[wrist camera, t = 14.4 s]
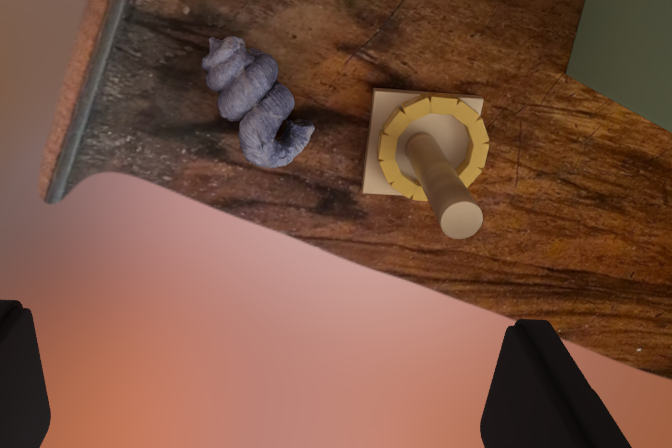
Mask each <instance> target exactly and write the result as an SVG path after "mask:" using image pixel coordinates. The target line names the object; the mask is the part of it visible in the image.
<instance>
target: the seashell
mask: <svg viewBox="0 0 672 448" xmlns="http://www.w3.org/2000/svg"><path fill="white" fill-rule="evenodd" d="M209 43H210V53H209V54H208V55H207V56H205V57H204V58H203V60H202V64H201V66H202V68H203V69H205V70H207V71H208V73H207V76H206V83H207V86H208V87H209V88H210V89H211V90H212V91H213V92H218V93H220V95H219V97H218V101H217V104H218V108H219V111H220V113H221V116H222V117H224V118H227V119H228V120H229V121H241V122H240V126H239V129H240V130H239V134H238V137H239V139H240V148H242V152H243V154H244V156H245V159H246V160H247V161H248V162H249V161H250V162H251V163H253V164H256V166H260V167H268V168H270V167H271V168H272V169H273V168H276V167H280V166H281V167H282V166H285V165H287V164H288V163H290V162H292V160H293V158H294V157H295V156H297V155H298V154H299V153H300V152H301V151H302V150H303V149H304V147H305V146H306V145H307V143H308V142H309V140H310V137H311V134H312V133H313V131H314V130H315V128H314V126H313V124H312V122H311V121H307V120H303V119H297V120H296V121H292V120H289V121H287V126H288V127H287V128H286V130H285V132H284V133H283V135H282V137H281V138H279V139H274V138H275V136H276V132H277V131H278V129H279V127H280V125H281V124H282V121H283V120H286V118H287V117H288V115H289V114H290V112H291V111H292V110H293V108H294V105H295V101H294V98H293V96H292V93H291V92H290V91H289V89H288V88H286V87H285V86H283V85H282V84H281V83H280V82H277V81H276V79H277V76H278V70H279V69H278V65H277V62H276V61H275V60H274V58H273V57H272V56H271V55H269V54H267V53H264V52H262V51H261V50H258V49H255V48H252V47H250V48H248V49H246V48H245V43H244V41H243V39H242V38H239V37H235V36H228V37H226V38H225V39H223V40H219V39H215V38H214V37H211V38H209Z"/></svg>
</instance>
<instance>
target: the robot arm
mask: <svg viewBox="0 0 672 448" xmlns="http://www.w3.org/2000/svg"><path fill="white" fill-rule="evenodd" d="M50 414H51V413H50V406H49V401H48V396H47V391H46V385H45V381H44V375H43V370H42V364H41V360H40V354H39V348H38V343H37V338H36V333H35V328H34V322H33V317H32V313H31V311H30V309H27V308H23V307H22V304H21V303H20V302H19V301H17V300H0V448H39V447H40V445H41V443H42V441H43V439H44V437H45V435H46V433H47V431H48V428H49V425H50V418H51V415H50ZM480 432H481V438H482V441H483V444H484V446H485V448H632V447H631V446H630V444H629V443H628V441H627V440H626V438H625V436H624V435H623V433H622V432H621V430H620V429H619V427H618V425H617V424H616V422H615V421H614V419H613V418H612V416H611V415H610V413H609V411H608V410H607V408H606V407H605V405H604V404H603V402H602V400H601V399H600V397H599V396H598V395H597V393H596V392H595V391H594V390H593V389H592V388H591V386H590V385H589V384H588V382H587V380H586V379H585V377H584V375H583V374H582V372H581V371H580V369H579V368H578V366H577V364H576V363H575V361H574V360H573V358H572V357H571V356H570V353H569V352H568V350H567V349H566V347H565V346H564V344H563V342H562V341H561V339H560V338H559V336H558V335H557V333H556V331H555V330H554V328H553V327H552V325H551V324H550V323H549V322H548V321H546V320H531V319H519V320H517V321H516V323H515V325H514V326H509V327H508V328H507V330H506V332H505V336H504V339H503V343H502V347H501V351H500V354H499V357H498V361H497V365H496V368H495V372H494V375H493V379H492V383H491V386H490V390H489V393H488V397H487V400H486V404H485V408H484V411H483V415H482V419H481V423H480Z"/></svg>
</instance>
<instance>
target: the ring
mask: <svg viewBox="0 0 672 448" xmlns="http://www.w3.org/2000/svg"><path fill="white" fill-rule="evenodd" d="M401 107H402V109H401V108H400V107H397V108H396V109H395V110H394V111H393V113H392V114H391V115H390V117H389V118H388V119H387V120H386V122H385V123H384V124H383V125H382V128H383V130H380V133H379V140H378V147H377V156H378V157H377V159H378V162H379V164H380V167H381V169H382V171H383V173H384V176H385V178H386V180H387V183H389V184H390V186H391V187H392V188H394V189H395V190H397V191H398V192H400V193H401V194H403V195H404V196H406V197H407V198H408V199H410V197H411V198H412V200H421V201H428V199H427V197H426V195H425V193H424V191H423V189H422V186H421V184H420V182H419V181H418V180H414V179H412V178H411V177H409V176H408V175H407V174H405V173H404V172H402V171H401V170H400V169H399V167H398V165H397V162H396V160H395V154H396V147H397V141H398V138H399V136H400V135H401V134H402V133H403V131H404V130H405V129H406V128H407V126H408V125H409V124H410V123H411V122H412V121H414V120H417V119H419V118H421V117H424V116H426V115H428V114H430V113H432V114H443V115H452V116H453V117H455V118H456V119H457V120H459V121H460V122H461V123H462V124H464V126H465V129H466V132H467V135H468V138H469V144H468V148H467V153H466V157H465V159H464V161H463V162H462V163H461V164H460V165H459V166H458V168H457V169H456V170H455V171H456V172H457V174H458V176H459V177H460V179H461V180H462V182H463V183H464V185H465V186H466V188H467V187H468V186H469V185H470V184H471V183H472V182H473V181H474V180H475V178H476V177H477V176H478V175H479V174H480V173H481V172H482V170H481V169H480V168H484V165H485V161H486V156H487V152H488V148H489V143H488V142H487V141H489V138H488V135H487V132H486V129H485V125H484V122H483V119H482V118H481V117H480V115H479V114H478V113H477V111H476V110H474V109H473V108H472V107H470V106H469V105H468V104H467V103H465V102H464V101H463V100H461V99H460V98H459V97H455V96H454V95H450V94H440V93H428V96H427V95H426V94H425V93H424V94H422V95H419V96H417V97H415V98H413V99H410V100H408V101H406V102H403V103H401Z"/></svg>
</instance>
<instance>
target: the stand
mask: <svg viewBox="0 0 672 448" xmlns="http://www.w3.org/2000/svg"><path fill="white" fill-rule="evenodd" d="M566 75H568V76H570V77H571V78H573V79H575V80H577V81H579V82H580V83H582V84H584V85H586V86H588V87H589V88H591V89H593V90H595V91H597V92H599V93H600V94H602V95H604V96H606V97H608V98H609V99H611V100H613V101H615V102H617V103H619V104H620V105H622V106H624V107H626V108H628V109H629V110H631V111H633V112H635V113H637V114H638V115H640V116H642V117H644V118H646V119H648V120H649V121H651V122H653V123H655V124H657V125H658V126H660V127H662V128H664V129H666V130H668V131H669V132H671V133H672V0H585V3H584V7H583V11H582V15H581V18H580V22H579V26H578V29H577V33H576V37H575V40H574V44H573V48H572V52H571V55H570V59H569V63H568V66H567V70H566Z"/></svg>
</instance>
